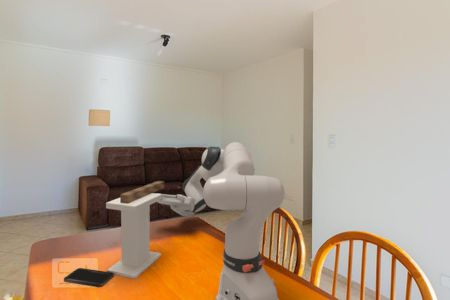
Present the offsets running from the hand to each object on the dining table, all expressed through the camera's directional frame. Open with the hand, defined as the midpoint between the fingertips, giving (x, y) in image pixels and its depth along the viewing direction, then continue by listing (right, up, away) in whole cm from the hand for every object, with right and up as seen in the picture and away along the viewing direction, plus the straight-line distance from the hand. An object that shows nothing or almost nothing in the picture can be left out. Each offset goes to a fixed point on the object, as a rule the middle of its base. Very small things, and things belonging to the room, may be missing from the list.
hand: (167, 195), depth 127 cm
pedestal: (-8, -23, -22) cm, 33 cm away
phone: (-21, -24, -33) cm, 45 cm away
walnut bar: (-5, +4, -19) cm, 20 cm away
